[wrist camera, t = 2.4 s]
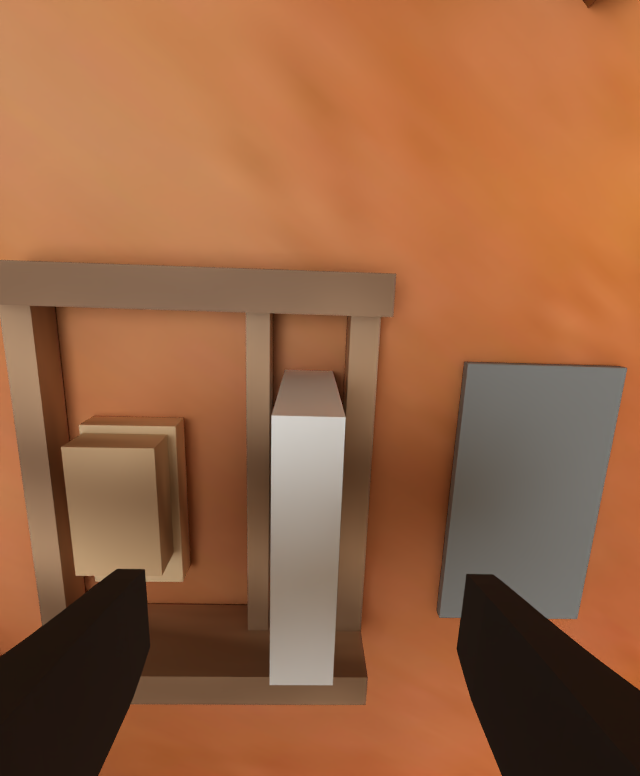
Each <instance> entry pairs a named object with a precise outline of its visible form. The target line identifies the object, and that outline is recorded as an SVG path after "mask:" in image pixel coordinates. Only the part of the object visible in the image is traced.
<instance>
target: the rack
mask: <svg viewBox="0 0 640 776" xmlns="http://www.w3.org/2000/svg"><path fill="white" fill-rule="evenodd" d="M395 284H396V274H388V273H359V272H331V271H302V270H273V269H244V268H215V267H187V266H158V265H129V264H100V263H72V262H43V261H14V260H0V319H1V327H2V334H3V341H4V349H5V356H6V363H7V371H8V378H9V385H10V393H11V400H12V407H13V415H14V422H15V429H16V437H17V444H18V451H19V459H20V466H21V474H22V481H23V488H24V496H25V503H26V510H27V518H28V525H29V532H30V540H31V547H32V554H33V562H34V569H35V576H36V584H37V591H38V598H39V606H40V613H41V621H42V626H43V625H44V624H46V623H47V622H48V621H50V620H51V619H52V618H54V617H55V616H56V615H58V614H59V613H60V612H61V611H63V610H64V609H65V608H67V607H68V606H69V605H71V604H72V603H73V602H74V601H76V600H77V599H78V598H80V597H81V596H82V595H83V594H85V584H84V576H76V574H75V565H74V556H73V548H72V539H71V530H70V522H69V513H68V504H67V495H66V487H65V478H64V469H63V461H62V452H61V447H62V446H63V445H65V444H67V443H68V442H69V434H68V425H67V416H66V406H65V397H64V387H63V378H62V369H61V359H60V350H59V341H58V331H57V322H56V312H55V306H56V307H88V308H120V309H151V310H183V311H215V312H246V427H247V576H248V605H209V604H147V606H148V620H149V634H150V649H149V652H148V655H147V658H146V662H145V665H144V668H143V671H142V674H141V677H140V680H139V683H138V686H137V689H136V691H135V694H134V697H133V700H132V702H131V704H229V705H366V693H367V679H368V677H367V670H366V663H365V657H364V650H363V643H362V637H361V619H362V603H363V588H364V572H365V557H366V541H367V526H368V510H369V495H370V479H371V463H372V448H373V432H374V417H375V401H376V386H377V370H378V355H379V339H380V324H381V317H393V313H394V299H395ZM273 313H278V314H310V315H342V316H347V334H346V356H345V377H344V399H343V410H344V413H345V417H346V420H345V441H344V462H343V483H342V503H341V524H340V545H339V565H338V586H337V607H336V627H335V648H334V669H333V685H270V554H271V417H272V412H273Z"/></svg>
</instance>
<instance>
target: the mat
mask: <svg viewBox="0 0 640 776" xmlns="http://www.w3.org/2000/svg"><path fill="white" fill-rule="evenodd" d="M626 372H627V368H625V367H621V366H597V365H562V364H527V363H492V362H464V369H463V378H462V387H461V396H460V405H459V414H458V423H457V432H456V441H455V450H454V459H453V468H452V477H451V486H450V495H449V504H448V513H447V522H446V531H445V540H444V549H443V558H442V567H441V576H440V585H439V594H438V603H437V613H438V615H439V618H461V612H462V604H463V597H464V589H465V581H466V574H493V575H495V576H496V577H497V578H499V579H500V580H501V581H503V582H504V583H505V584H506V585H507V586H509V587H510V588H511V589H512V590H514V591H515V592H516V593H517V594H518V595H520V596H521V597H522V598H523V599H524V600H526V601H527V602H528V603H529V604H530V605H531V606H533V607H534V608H535V609H536V610H537V611H539V612H540V613H541V614H542V615H543V616H545V617H546V618H547V619H577V617H578V612H579V607H580V602H581V597H582V592H583V587H584V582H585V577H586V572H587V567H588V562H589V557H590V552H591V547H592V542H593V537H594V532H595V527H596V522H597V517H598V512H599V507H600V502H601V497H602V492H603V487H604V482H605V477H606V472H607V467H608V462H609V457H610V452H611V447H612V442H613V437H614V432H615V427H616V422H617V417H618V412H619V407H620V402H621V397H622V392H623V387H624V382H625V377H626Z"/></svg>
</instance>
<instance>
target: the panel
mask: <svg viewBox="0 0 640 776" xmlns="http://www.w3.org/2000/svg"><path fill="white" fill-rule="evenodd" d="M345 420H346V417H345V413H344V410H343V406H342V402H341V399H340V395H339V392H338V388H337V384H336V381H335V377H334V374H333V371H318V370H285V371H284V375H283V378H282V382H281V385H280V388H279V392H278V395H277V399H276V402H275V405H274V409H273V412H272V417H271V554H270V685H333V669H334V648H335V627H336V607H337V586H338V565H339V545H340V524H341V503H342V483H343V462H344V441H345Z"/></svg>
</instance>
